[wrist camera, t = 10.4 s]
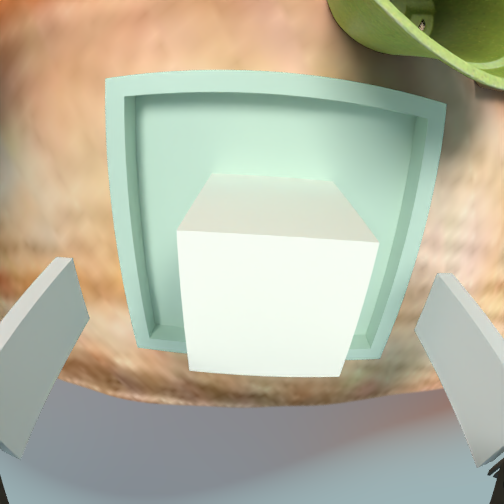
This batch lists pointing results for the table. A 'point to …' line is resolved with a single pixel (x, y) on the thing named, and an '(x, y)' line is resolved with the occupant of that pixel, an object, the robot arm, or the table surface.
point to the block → (272, 276)
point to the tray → (264, 174)
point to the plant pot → (432, 32)
